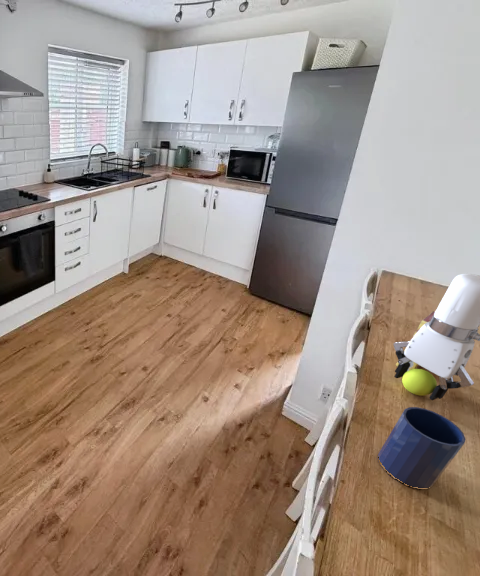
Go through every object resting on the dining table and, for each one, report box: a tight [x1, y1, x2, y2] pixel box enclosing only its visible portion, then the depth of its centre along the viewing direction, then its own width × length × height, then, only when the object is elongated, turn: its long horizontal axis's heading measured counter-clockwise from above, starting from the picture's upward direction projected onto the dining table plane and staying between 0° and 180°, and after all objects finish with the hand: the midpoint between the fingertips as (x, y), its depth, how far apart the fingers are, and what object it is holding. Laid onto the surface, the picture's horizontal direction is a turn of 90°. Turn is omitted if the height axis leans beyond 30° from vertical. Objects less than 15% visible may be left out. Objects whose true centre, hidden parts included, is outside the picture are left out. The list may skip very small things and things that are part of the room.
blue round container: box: [377, 406, 466, 488], centre depth 69 cm, size 9×9×12 cm
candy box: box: [395, 311, 435, 371], centre depth 98 cm, size 9×4×15 cm, turn 125°
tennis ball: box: [401, 368, 438, 397], centre depth 90 cm, size 6×6×6 cm
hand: (416, 386), depth 91 cm, fingers open, 7 cm apart
